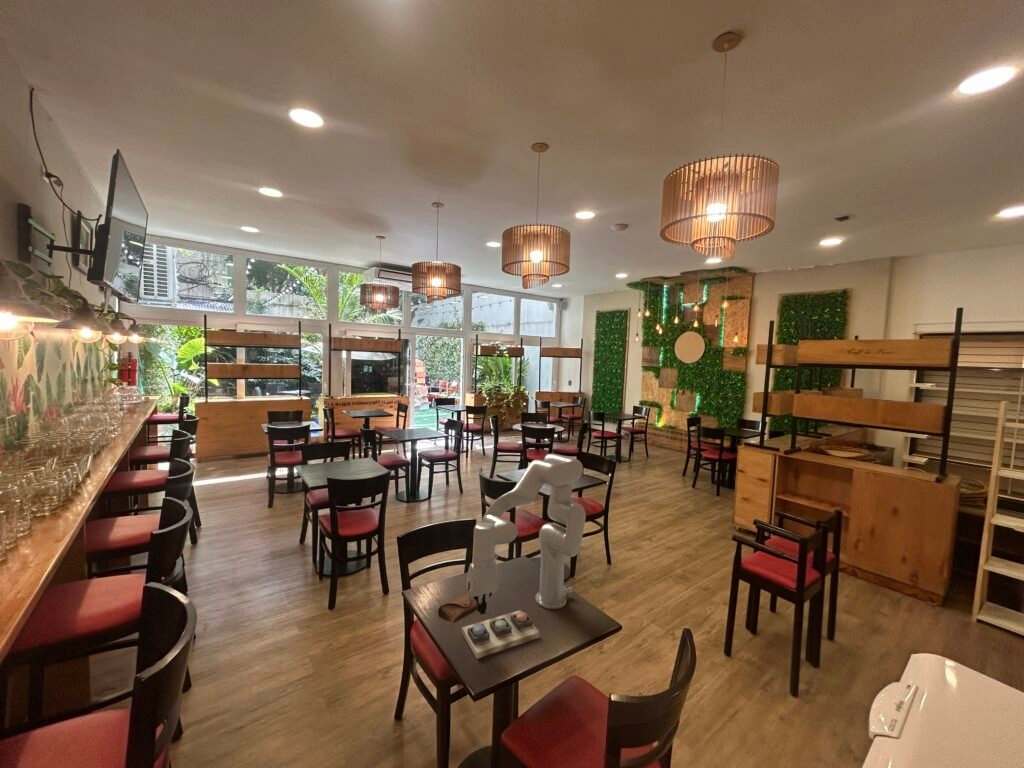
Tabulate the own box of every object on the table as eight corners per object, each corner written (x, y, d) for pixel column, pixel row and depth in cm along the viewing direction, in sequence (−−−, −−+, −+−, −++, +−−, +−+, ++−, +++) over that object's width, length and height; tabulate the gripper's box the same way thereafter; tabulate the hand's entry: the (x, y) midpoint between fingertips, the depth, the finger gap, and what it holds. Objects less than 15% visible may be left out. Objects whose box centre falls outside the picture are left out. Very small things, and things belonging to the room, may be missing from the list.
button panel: (520, 614, 159) (520, 604, 159) (539, 637, 147) (539, 626, 146) (461, 632, 148) (461, 622, 147) (476, 658, 135) (477, 647, 135)
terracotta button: (523, 616, 154) (523, 611, 153) (528, 622, 150) (529, 617, 150) (514, 619, 152) (514, 613, 152) (519, 625, 148) (519, 620, 148)
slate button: (481, 629, 146) (481, 623, 145) (486, 636, 142) (486, 630, 142) (470, 632, 144) (471, 626, 144) (475, 639, 140) (475, 633, 140)
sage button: (503, 624, 150) (503, 618, 149) (508, 630, 146) (508, 625, 146) (493, 627, 148) (493, 621, 148) (497, 634, 144) (498, 628, 144)
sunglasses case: (452, 623, 152) (446, 604, 154) (441, 625, 156) (436, 607, 158) (487, 603, 166) (481, 586, 167) (476, 605, 170) (471, 588, 172)
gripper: (498, 551, 148) (496, 601, 149) (459, 559, 141) (457, 611, 142) (508, 560, 142) (505, 612, 143) (467, 569, 135) (465, 624, 136)
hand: (481, 612), depth 143 cm, fingers closed
